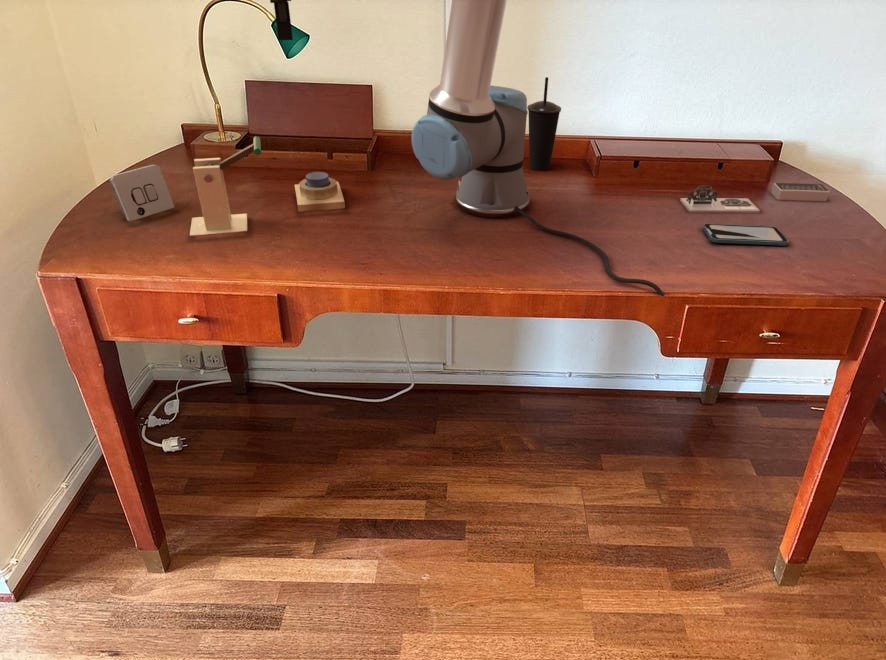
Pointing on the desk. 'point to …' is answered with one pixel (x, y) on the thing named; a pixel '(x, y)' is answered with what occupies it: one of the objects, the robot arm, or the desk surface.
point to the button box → (319, 196)
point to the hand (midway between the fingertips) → (285, 39)
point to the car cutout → (716, 202)
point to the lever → (240, 154)
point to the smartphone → (745, 234)
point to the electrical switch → (141, 192)
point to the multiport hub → (800, 192)
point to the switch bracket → (214, 202)
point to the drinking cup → (542, 131)
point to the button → (317, 179)
